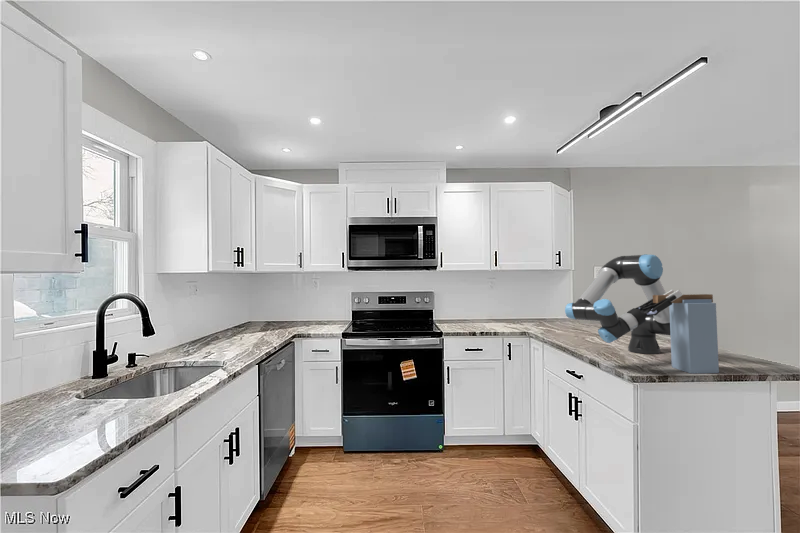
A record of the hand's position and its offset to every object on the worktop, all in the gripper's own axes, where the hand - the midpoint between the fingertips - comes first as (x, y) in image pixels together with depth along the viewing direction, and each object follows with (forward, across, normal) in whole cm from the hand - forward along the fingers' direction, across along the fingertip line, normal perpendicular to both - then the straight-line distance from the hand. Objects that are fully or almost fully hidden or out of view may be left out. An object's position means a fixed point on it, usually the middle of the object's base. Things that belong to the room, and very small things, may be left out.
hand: (676, 292), depth 174 cm
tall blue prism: (-12, 0, -33) cm, 35 cm away
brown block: (0, 0, -5) cm, 5 cm away
